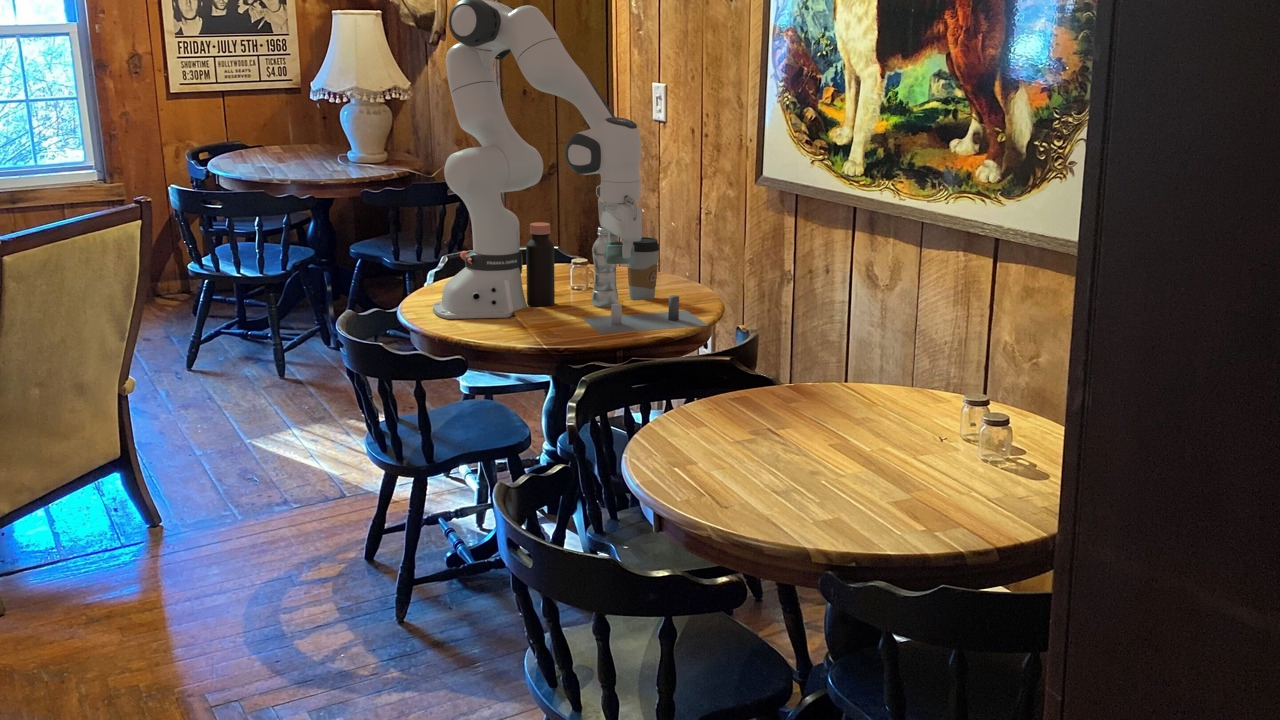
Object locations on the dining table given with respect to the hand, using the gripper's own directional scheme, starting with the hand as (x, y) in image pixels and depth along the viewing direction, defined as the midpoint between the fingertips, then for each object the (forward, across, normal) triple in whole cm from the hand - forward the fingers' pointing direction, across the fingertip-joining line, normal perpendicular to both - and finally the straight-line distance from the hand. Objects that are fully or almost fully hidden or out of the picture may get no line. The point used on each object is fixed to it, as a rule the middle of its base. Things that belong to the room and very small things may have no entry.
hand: (620, 254), depth 265 cm
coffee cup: (+17, +25, -14) cm, 34 cm away
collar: (+2, 0, 0) cm, 2 cm away
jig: (+17, 0, -6) cm, 18 cm away
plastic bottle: (+17, +18, -2) cm, 25 cm away
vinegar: (+17, +26, +12) cm, 33 cm away
